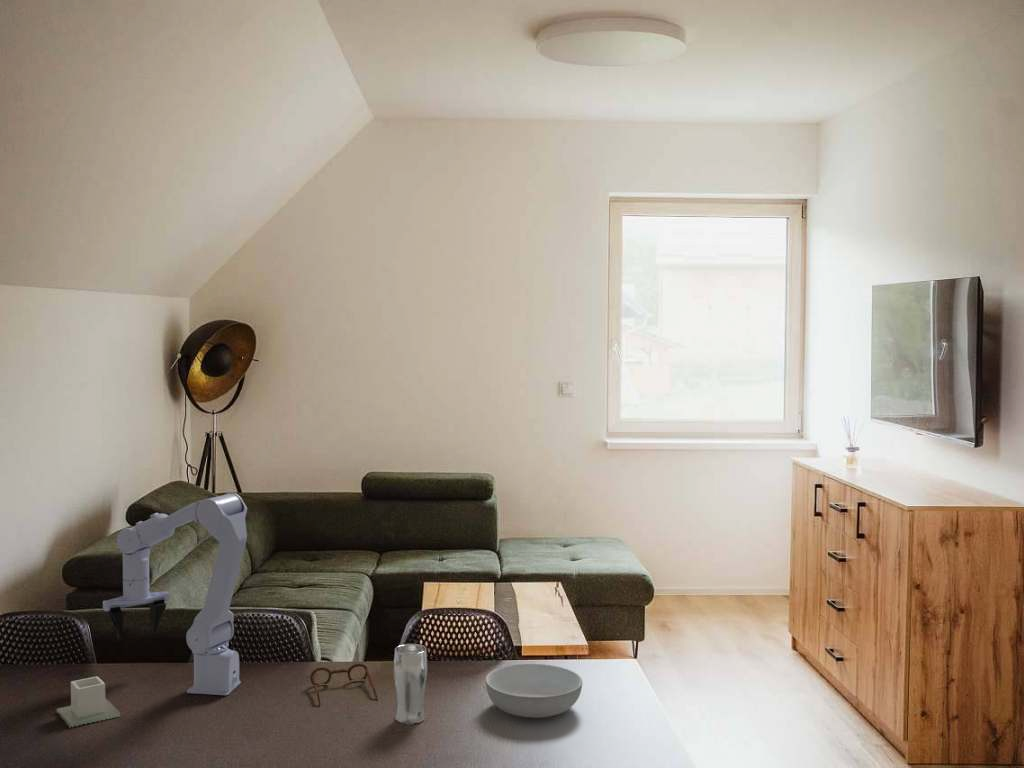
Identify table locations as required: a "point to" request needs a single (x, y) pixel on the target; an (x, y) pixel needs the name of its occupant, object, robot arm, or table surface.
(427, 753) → the table surface
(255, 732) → the table surface
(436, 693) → the table surface
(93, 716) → the duct stub
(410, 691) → the beer glass
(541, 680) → the serving bowl
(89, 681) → the sleeve
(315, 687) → the glasses
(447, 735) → the table surface
